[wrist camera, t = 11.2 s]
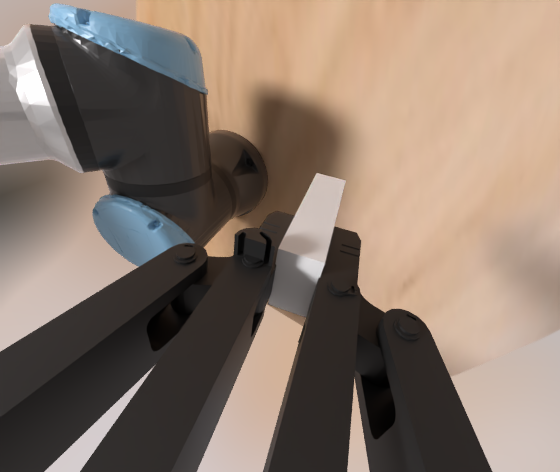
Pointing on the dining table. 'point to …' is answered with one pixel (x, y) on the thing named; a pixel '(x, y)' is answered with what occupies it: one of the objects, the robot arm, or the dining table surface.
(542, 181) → the dining table surface
